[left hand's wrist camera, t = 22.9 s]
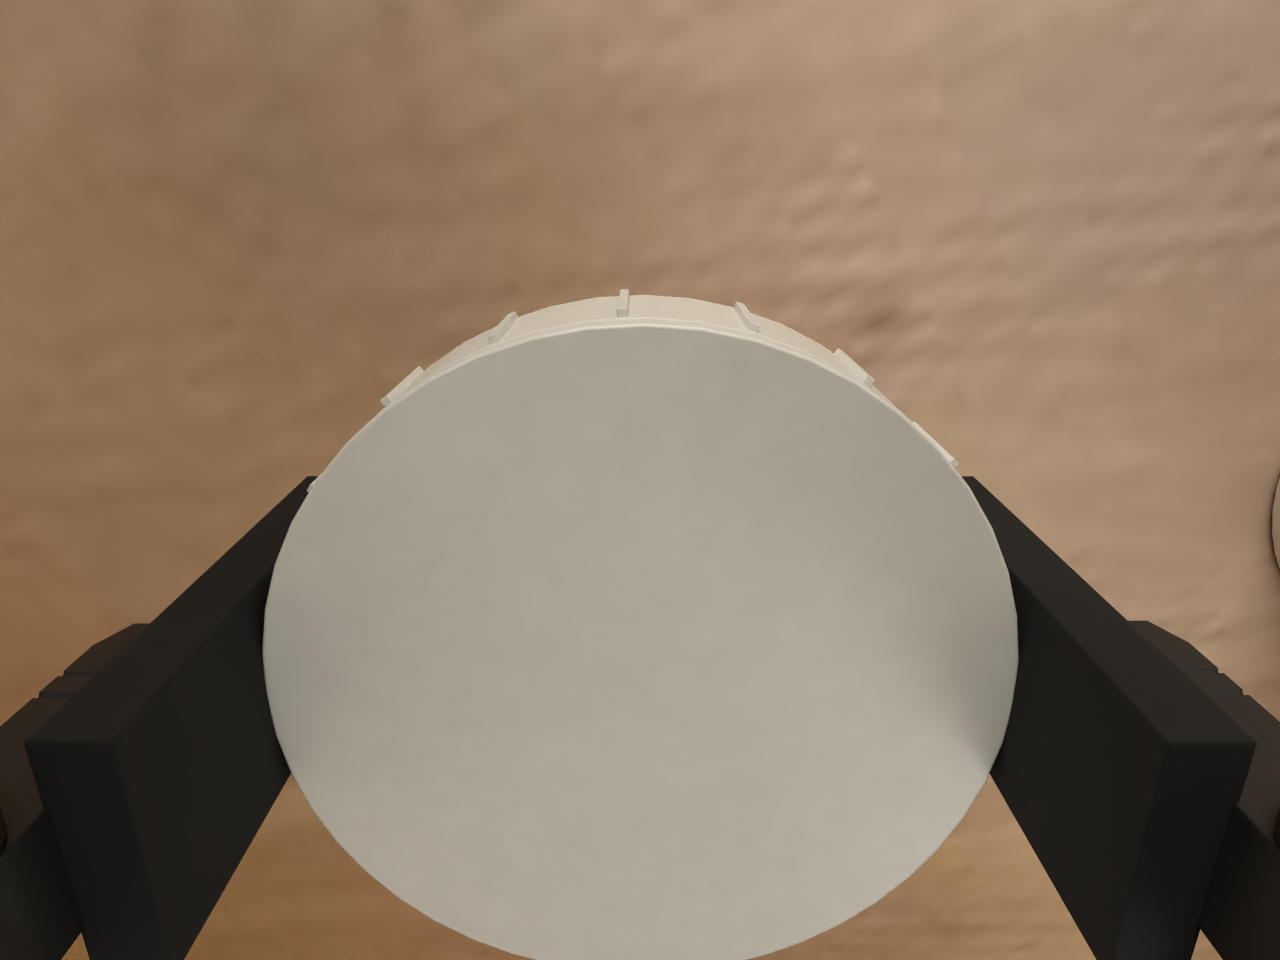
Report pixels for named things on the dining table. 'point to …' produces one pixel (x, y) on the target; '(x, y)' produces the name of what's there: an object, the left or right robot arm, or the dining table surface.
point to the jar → (1276, 523)
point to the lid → (640, 637)
